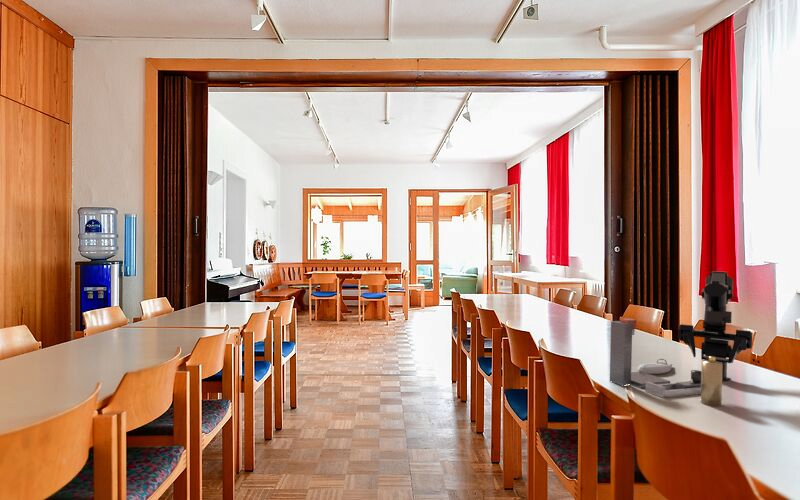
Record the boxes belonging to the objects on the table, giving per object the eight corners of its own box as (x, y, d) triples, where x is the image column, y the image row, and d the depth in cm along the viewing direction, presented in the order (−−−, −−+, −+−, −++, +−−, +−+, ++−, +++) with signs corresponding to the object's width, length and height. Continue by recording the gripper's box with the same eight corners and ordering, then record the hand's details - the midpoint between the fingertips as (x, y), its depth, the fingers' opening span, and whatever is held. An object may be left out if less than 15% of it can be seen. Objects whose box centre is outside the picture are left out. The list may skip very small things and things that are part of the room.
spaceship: (650, 378, 161) (650, 365, 161) (632, 373, 167) (632, 361, 167) (683, 369, 175) (683, 357, 175) (665, 365, 180) (665, 353, 180)
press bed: (640, 375, 164) (642, 315, 164) (670, 385, 153) (671, 321, 153) (603, 378, 160) (604, 316, 159) (630, 389, 148) (632, 322, 148)
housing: (709, 400, 139) (710, 354, 139) (725, 405, 134) (726, 358, 134) (696, 401, 137) (697, 355, 137) (712, 407, 133) (713, 359, 133)
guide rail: (693, 386, 152) (693, 377, 152) (711, 392, 146) (711, 383, 146) (645, 391, 146) (645, 381, 146) (662, 397, 140) (662, 387, 140)
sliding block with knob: (695, 388, 150) (696, 369, 150) (704, 391, 148) (704, 372, 148) (676, 390, 148) (676, 371, 148) (684, 393, 145) (685, 373, 145)
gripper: (679, 298, 150) (674, 338, 141) (752, 303, 139) (752, 347, 130) (681, 320, 156) (677, 359, 147) (751, 327, 146) (751, 370, 137)
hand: (712, 358), depth 140 cm, fingers open, 9 cm apart
